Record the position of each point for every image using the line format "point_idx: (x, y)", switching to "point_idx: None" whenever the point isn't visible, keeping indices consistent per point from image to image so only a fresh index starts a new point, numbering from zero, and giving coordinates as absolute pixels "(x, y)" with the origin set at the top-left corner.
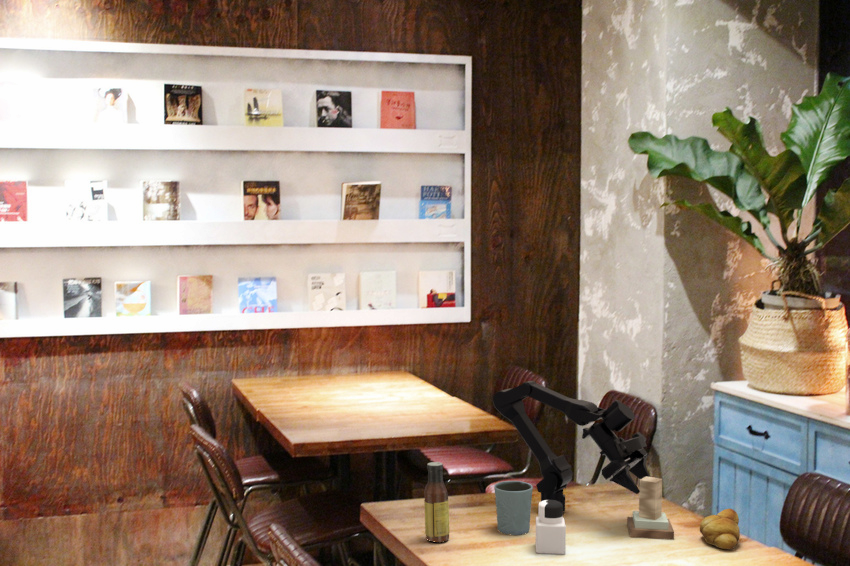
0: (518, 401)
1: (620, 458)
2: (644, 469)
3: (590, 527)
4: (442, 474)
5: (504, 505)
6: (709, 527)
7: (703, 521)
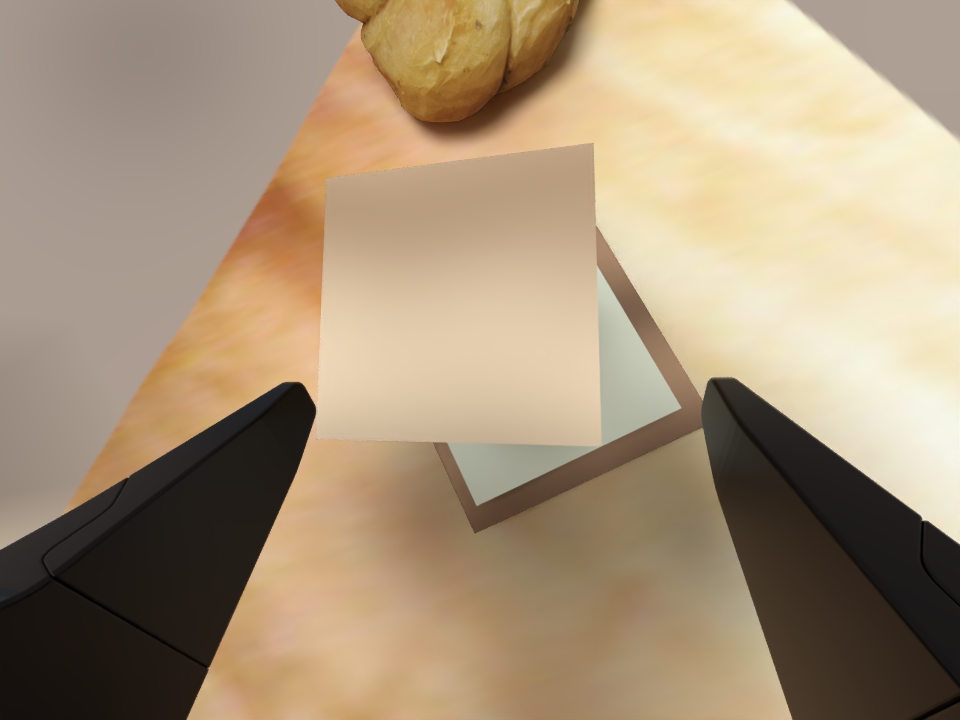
0: None
1: None
2: (113, 542)
3: (686, 700)
4: None
5: None
6: None
7: (480, 31)
